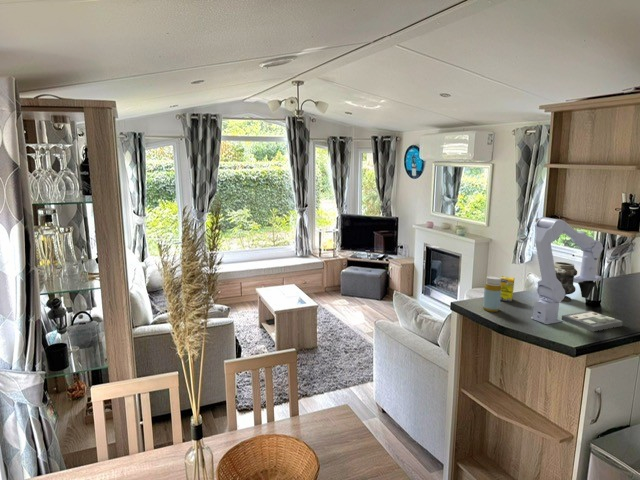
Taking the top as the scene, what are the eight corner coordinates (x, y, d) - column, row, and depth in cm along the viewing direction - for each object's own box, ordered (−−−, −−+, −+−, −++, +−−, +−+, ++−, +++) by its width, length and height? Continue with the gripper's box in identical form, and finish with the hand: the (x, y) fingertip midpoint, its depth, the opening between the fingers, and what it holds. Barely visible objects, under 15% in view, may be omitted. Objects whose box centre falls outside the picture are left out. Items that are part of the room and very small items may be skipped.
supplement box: (498, 300, 214) (500, 278, 212) (499, 297, 219) (501, 275, 217) (511, 302, 211) (513, 280, 209) (512, 299, 216) (514, 277, 214)
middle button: (599, 324, 180) (600, 319, 180) (591, 321, 184) (592, 316, 183) (605, 323, 182) (606, 318, 181) (597, 320, 185) (598, 315, 185)
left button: (589, 329, 178) (590, 323, 178) (581, 326, 181) (582, 320, 181) (595, 328, 180) (596, 322, 179) (587, 325, 183) (588, 319, 182)
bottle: (479, 308, 201) (482, 276, 199) (490, 306, 204) (493, 275, 202) (491, 313, 195) (494, 280, 193) (502, 310, 198) (505, 278, 196)
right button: (609, 325, 183) (609, 319, 183) (600, 322, 186) (601, 317, 186) (614, 324, 184) (615, 318, 184) (606, 321, 188) (607, 316, 187)
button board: (592, 331, 176) (593, 326, 175) (561, 319, 188) (562, 314, 188) (622, 325, 183) (622, 320, 182) (590, 315, 195) (590, 310, 195)
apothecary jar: (570, 296, 223) (574, 261, 220) (577, 303, 212) (582, 267, 209) (544, 294, 226) (548, 259, 223) (549, 301, 215) (554, 265, 211)
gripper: (585, 270, 183) (581, 301, 186) (609, 268, 189) (605, 298, 191) (570, 266, 190) (566, 296, 192) (593, 264, 195) (589, 294, 198)
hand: (584, 297), depth 192 cm, fingers closed
